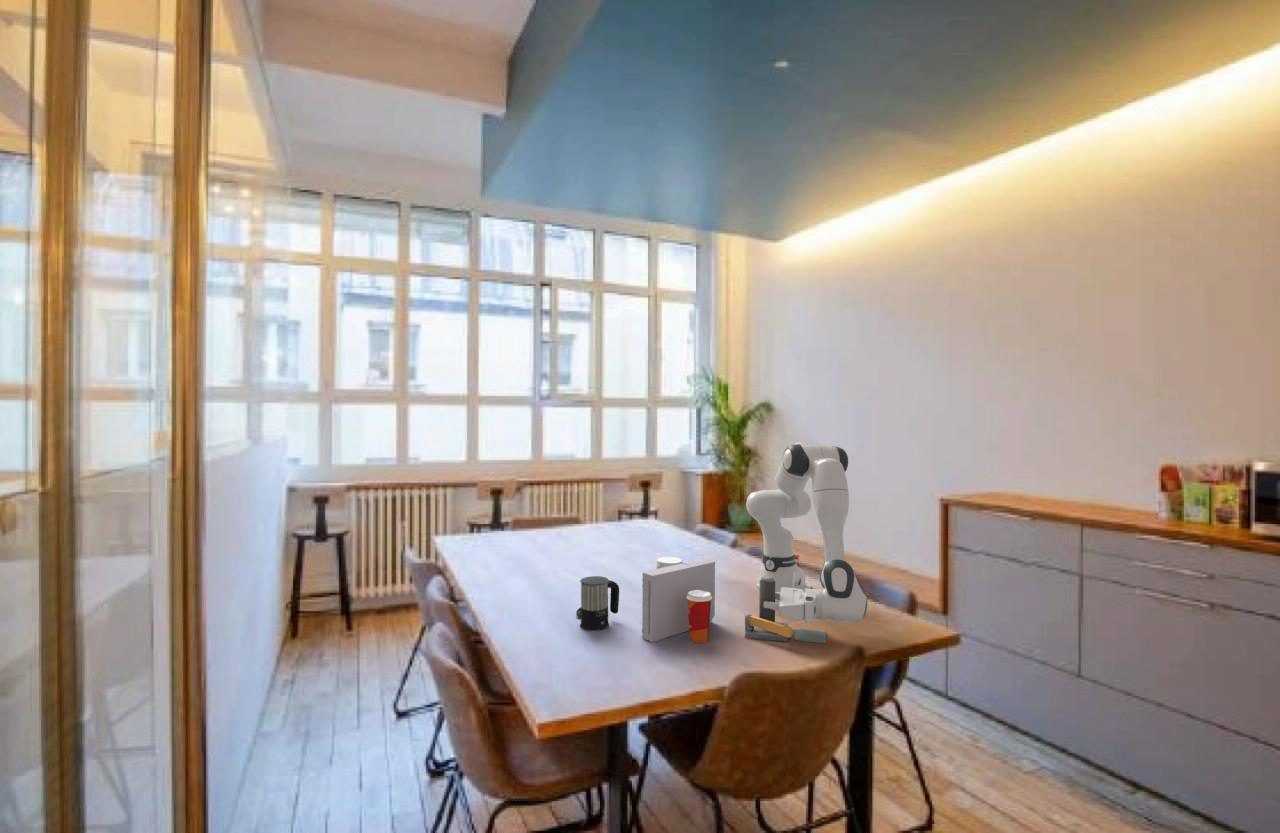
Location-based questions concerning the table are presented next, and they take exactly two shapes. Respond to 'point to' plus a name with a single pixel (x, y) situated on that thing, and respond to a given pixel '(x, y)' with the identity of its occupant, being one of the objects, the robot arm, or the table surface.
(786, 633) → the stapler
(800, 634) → the pad
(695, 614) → the paper cup
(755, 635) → the gray angle bracket
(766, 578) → the plug
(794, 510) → the robot arm
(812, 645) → the table surface
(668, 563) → the supplement tub
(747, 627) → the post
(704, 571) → the game console
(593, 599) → the milk frother
